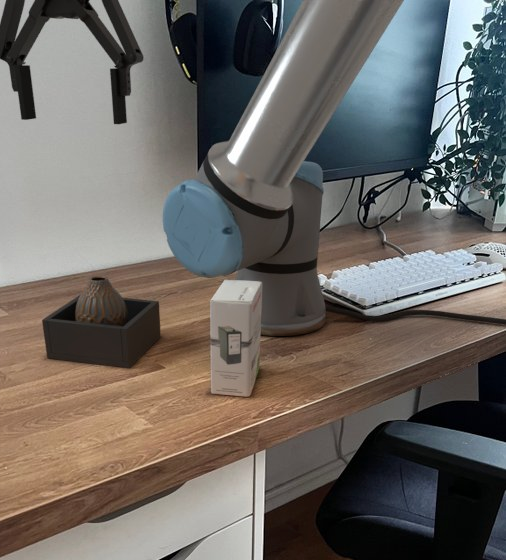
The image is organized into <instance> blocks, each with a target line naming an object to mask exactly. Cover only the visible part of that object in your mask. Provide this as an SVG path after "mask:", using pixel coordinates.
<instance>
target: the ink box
mask: <svg viewBox="0 0 506 560" xmlns="http://www.w3.org/2000/svg"><path fill="white" fill-rule="evenodd" d="M209 301H210V302H209V307H210V309H209V311H210V312H209V313H210V314H209V315H210V318H209V319H210V320H209V322H210V323H209V326H210V327H209V328H210V329H209V331H210V336H209V337H210V393H211V394H213V395H223V396H235V397H245V398H247V397H251V395H252V392H253V388H254V386H255V383H256V380H257V378H258V373H259V371H260V356H261V354H260V353H261V335H260V334H261V309H262V282H259V281H245V280H235V279H224V280H223V281H222V283H221V284H220V286H219V288H218V289H217V290H216V292H215V293H214V295H213V296H212V298H211V299H210V300H209Z"/></svg>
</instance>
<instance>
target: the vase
mask: <svg viewBox="0 0 506 560" xmlns="http://www.w3.org/2000/svg"><path fill="white" fill-rule="evenodd" d="M79 295H80V297H79V299H78V301H77V305H76V311H75V317H76V321H77V322H86V323H95V324H105V325H114V326H124V325H126V324H127V323H128V311H127V307H126V304H125V302H124V300H123V298H124V297H122V294H120V292H119V291H117V289H116V288H115V287H114V286H113V285H112V284H111V281H110V280H109V278H108V277H107V276H104V275H94V276H91V277H89V278H88V282H87V284H86V286H85V287H84V289H83V291H82V292H81V294H79Z"/></svg>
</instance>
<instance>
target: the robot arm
mask: <svg viewBox="0 0 506 560" xmlns="http://www.w3.org/2000/svg"><path fill="white" fill-rule="evenodd" d="M404 1H405V0H302V1H301V3H300V5H299V7H298V9H297V11H296V13H295V15H294V17H293V18H292V21H290V24H289V26H288V28H287V30H286V32H285V33H284V36H283V37H282V39H281V41H280V43H279V45H278V47H277V49H276V50H275V53H274V54H273V57H272V58H271V61H270V62H269V64H268V66H267V68H266V70H265V72H264V73H263V76H262V77H261V79H260V81H259V83H258V85H257V87H256V89H255V91H254V93H253V95H252V97H251V98H250V100H249V102H248V104H247V106H246V108H245V109H244V112H243V114H242V115H241V117H240V119H239V122H237V125H236V127H235V129H234V131H233V133H231V136H230V139H229V140H226V141H221V142H216V143H215V144H213V145H212V146H211V147H210V148H209V150H208V152H207V154H206V156H205V158H204V160H203V161H202V164H201V166H200V168H199V169H198V172H197V174H196V175H195V177H194V179H190V180H189V179H188V180H185V181H182V182H180V183H179V184H178V185H177V186H175V187H174V188H173V189H172V190H171V191H170V192H169V193H168V195H167V197H166V199H165V201H164V205H163V210H162V228H163V232H164V233H165V236H166V242H167V245H168V247H169V249H170V251H171V253H172V255H173V256H174V257H175V259H176V260H177V262H178V263H179V264H180V265H182V267H183V268H185V270H187V271H188V272H190V273H191V274H193V275H196V276H198V277H201V278H205V279H214V278H219V277H227V276H230V275H233V274H235V273H236V275H235V278H234V280H245V281H259V282H262V309H261V334H260V336H270V337H271V336H272V337H290V336H299V335H304V334H308V333H312V332H315V331H317V330H319V329H321V328H322V327H323V326H324V325H325V323H326V318H327V317H326V316H327V315H326V314H327V312H328V313H333V314H339V315H344V316H348V317H352V318H354V319H358V320H363V321H367V322H383V321H391V320H394V319H398V318H402V317H409V316H429V317H431V316H432V317H440V318H448V319H455V320H463V321H471V322H481V323H490V324H495V325H496V324H497V325H505V326H506V318H499V317H498V318H497V317H491V316H483V315H482V316H481V315H475V314H465V313H457V312H450V311H442V310H434V309H433V310H432V309H407V310H402V311H397V312H393V313H389V314H382V315H370V314H364V313H360V312H357V311H353V310H349V309H345V308H340V307H335V306H330V305H326V303H325V298H324V295H323V290H322V287H321V282H320V279H319V275H318V259H319V257H318V256H319V245H320V232H321V219H322V205H323V195H324V191H325V190H324V186H323V184H324V183H323V182H324V172H323V169H322V167H321V166H320V164H318V163H317V162H313V161H306V159H307V157H308V155H309V154H310V152H311V150H312V149H313V147H314V146H315V144H316V142H317V141H318V139H319V138H320V136H321V135H322V133H323V131H324V130H325V128H326V126H327V124H329V122H330V120H331V118H332V117H333V116H334V113H335V112H336V110H337V109H338V107H339V106H340V104H341V102H342V101H343V99H344V97H345V96H346V94H347V93H348V91H349V89H350V88H351V87H352V84H353V83H354V81H355V80H356V78H357V77H358V75H359V73H360V72H361V70H362V68H363V67H364V66H365V64H366V62H367V61H368V59H369V58H370V56H371V54H372V53H373V51H374V50H375V48H376V46H377V44H378V43H379V41H380V40H381V38H382V36H383V35H384V34H385V32H386V30H387V29H388V27H389V26H390V24H391V22H392V21H393V19H394V17H395V16H396V14H397V13H398V11H399V9H400V8H401V6H402V5H403V3H404ZM101 2H102V6H103V7H104V10H105V12H106V15H107V17H108V18H109V21H110V23H111V26H112V27H113V30H114V32H115V34H116V36H117V38H118V40H119V42H120V44H119V43H118V41H117V40H116V39H115V37H114V36H113V35H112V33H111V32H110V31H109V29H108V28H107V27H106V25H105V24H104V22H103V21H102V19H101V18H100V17H99V14H98V12H97V11H96V9H95V8H94V7H93V5H92V4H91V2H90V0H34V1H33V3H32V5H31V6H30V8H29V10H28V16H27V18H26V19H25V22H24V23H23V25H22V27H21V29H20V31H18V30H19V27H20V23H21V19H22V15H23V12H24V7H25V3H26V0H5V3H4V7H3V10H2V15H1V18H0V60H1V61H3V62H5V63H6V64H7V65H8V69H9V76H10V82H11V84H10V85H11V88H12V91H13V92H14V93H15V92H16V93H17V96H18V97H17V98H18V104H19V112H20V119H21V120H22V121H28V120H36V119H37V114H36V113H37V112H36V105H35V97H34V96H35V95H34V88H33V80H32V73H31V65H28V64H26V63H27V62H25V61H26V59H27V57H28V55H29V54H30V51H31V50H32V49H33V46H34V44H35V43H36V41H37V39H38V37H39V36H40V33H41V32H42V30H43V29H44V26H46V23H48V22H49V21H50V19H56V20H58V19H59V20H63V19H68V20H69V19H71V20H80V21H81V22H82V23H83V24H84V25H85V26H86V28H87V29H88V30H89V31H90V33H91V35H93V37H94V39H95V40H96V41H97V42H98V44H99V46H101V48H102V49H103V50H104V52H105V53H106V54H107V56H108V58H110V60H111V61H112V62H113V64H114V66H113V67H114V68H109V75H110V76H109V77H110V89H111V102H112V103H111V104H112V117H113V119H112V120H113V125H122V124H128V120H127V119H128V118H127V102H126V97H130V96H131V94H132V82H131V79H132V78H131V69H132V68H133V66H135V65H137V64H140V63H142V62H144V54H143V51H142V50H141V47H140V46H139V43H138V41H137V39H136V36H135V35H134V32H133V29H132V28H131V25H130V23H129V20H128V19H127V17H126V14H125V12H124V10H123V8H122V5H121V4H120V3H121V2H120V1H119V0H101ZM17 34H18V35H17Z"/></svg>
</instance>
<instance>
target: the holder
mask: <svg viewBox="0 0 506 560" xmlns="http://www.w3.org/2000/svg"><path fill="white" fill-rule="evenodd" d="M80 295H81V294H79V295H78V296H76V297H74V298H73V299H71V300H70V301H68V302H67V303H65V304H64V305H62V306H60V307H59V308H58V309H56V310H54V311H53V312H52V313H50V314H49V315H47V316H46V317H44V318H42V320H41V321H42V322H41V323H42V332H43V339H44V345H45V353H46V358H47V359H50V360H58V361H69V362H76V363H83V364H93V365H99V366H101V365H102V366H108V367H109V366H110V367H117V368H125V369H131V367H132V366H133V365H134V364H136V362H137V361H138V360H139V359H140V358H141V357H142V356H143V355H144V354H145V353H146V352H148V350H149V349H150V348H151V347H153V345H154V344H156V342H157V341H159V339H160V338H161V337H162V336H161V317H160V316H161V315H160V301H159V300H151V299H140V298H130V297H122V298H123V300H124V302H125V304H126V307H127V311H128V323H127V324H126V325H124V326H114V325H105V324H95V323H86V322H77V321H76V317H75V311H76V305H77V301H78V299H79V297H80Z"/></svg>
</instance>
